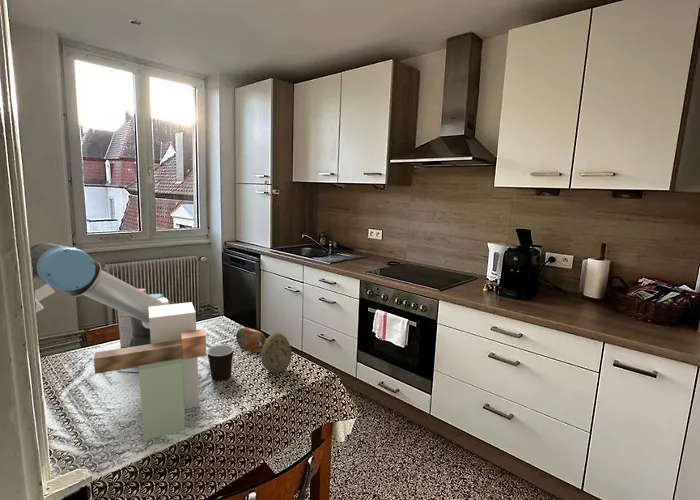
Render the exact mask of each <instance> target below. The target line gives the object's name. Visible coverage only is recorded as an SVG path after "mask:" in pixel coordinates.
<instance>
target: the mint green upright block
mask: <svg viewBox="0 0 700 500" xmlns="http://www.w3.org/2000/svg"><path fill="white" fill-rule="evenodd" d="M138 375H139V376H138V377H139V391H140V392H139V393H140V405H141V421H142V433H143V435H142V436H143V441H144V442H145V441H148V440H152V439H156V438H159V437H160V438H161V437H164V436H167V435H171V434H175V433H180V432H183V431H185V430H186V425H185V409H184V400H183V379H182V359H175V360H169V361H163V362H158V363H152V364H146V365H140V366H138Z"/></svg>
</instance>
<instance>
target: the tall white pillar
mask: <svg viewBox="0 0 700 500" xmlns="http://www.w3.org/2000/svg"><path fill="white" fill-rule="evenodd" d="M196 314H197V313H196V310H195V307H194V305H193V302H192V301H190V302H182V303H175V304H171V305H162V306H153V307H149V323H150V339H151V344H154V343H161V342H168V341H174V340H181V332H185V331H192V330H197V318H196V317H197V315H196ZM182 379H183V400H184V410H186V409H190V408H195V407H198V406H199V407H200V395H199V394H200V391H199V390H200V389H199V388H200V387H199V365H198V357H195V358H190V359H184V360H183V359H182Z"/></svg>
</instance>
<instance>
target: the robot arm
mask: <svg viewBox="0 0 700 500" xmlns="http://www.w3.org/2000/svg"><path fill="white" fill-rule="evenodd" d="M29 245H30V247H31V257H32V267H33V279H34V282H33V283H39V284H43V285H42V286H40V287H39V288H37V289H35V290H34V291H35V302H36V313H39V312H40V311H42V310H43V309H45V307H44V306H43V305H42V303H41V302H40V301H42V300H43V299H45V298H47V297H49V296H50V295H51V296H52V294H54V293H56V291H55V290H57V291H59V292H62V293H64V294H67V295H69V296H71V297H81V296H85V297H88V298H89V299H92V300H94V301H96V302H99V303H101V304H103V305H105V306H107V307H110V308H112V309H114V310H116V311H117V310H119V311H121V312H123V313H125V314H127V315H130V316H131V327H132V339H131V342H130V346H129V347H134V346H141V345H148V344H151V339H150V323H149V307H153V306H162V305H171V304H176V303H175V302H173V301H171V300H169V299H167V298H165V295H164V294H162V293H151V294H148V293H147V292H146V293H145V292H143V291H141V290H139V289H140V288H137V287H135V286H133V285H131V284H129V283H127V282H125V281H123V280H122V279H119V278H118V277H116V276H114V275H112V274H110V273H108V272H106V271H105V270H102V266H101V263H100V262H99V261H97V260H95V259H93V258H92V257H91V256H90V255H89V254H88V253H87V252H85V251H84V250H82V249H79V248H77V247H75V246H68V245H61V244H58V243H52V242H48V241H47V242H36V243H32V244H29ZM36 313H35V314H36Z"/></svg>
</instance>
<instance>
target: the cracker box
mask: <svg viewBox="0 0 700 500" xmlns="http://www.w3.org/2000/svg"><path fill="white" fill-rule="evenodd" d="M138 289H139V290H141V291H143V292H145V293H146V294H147V289H146V288H138ZM116 312H117V313H116V314H117V321H118V331H119V342H120V349H121V348H128V347H129V346H130V342H131V339H132V327H131V316H130V315H127V314H125V313H123V312H121V311H119V310H116Z"/></svg>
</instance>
